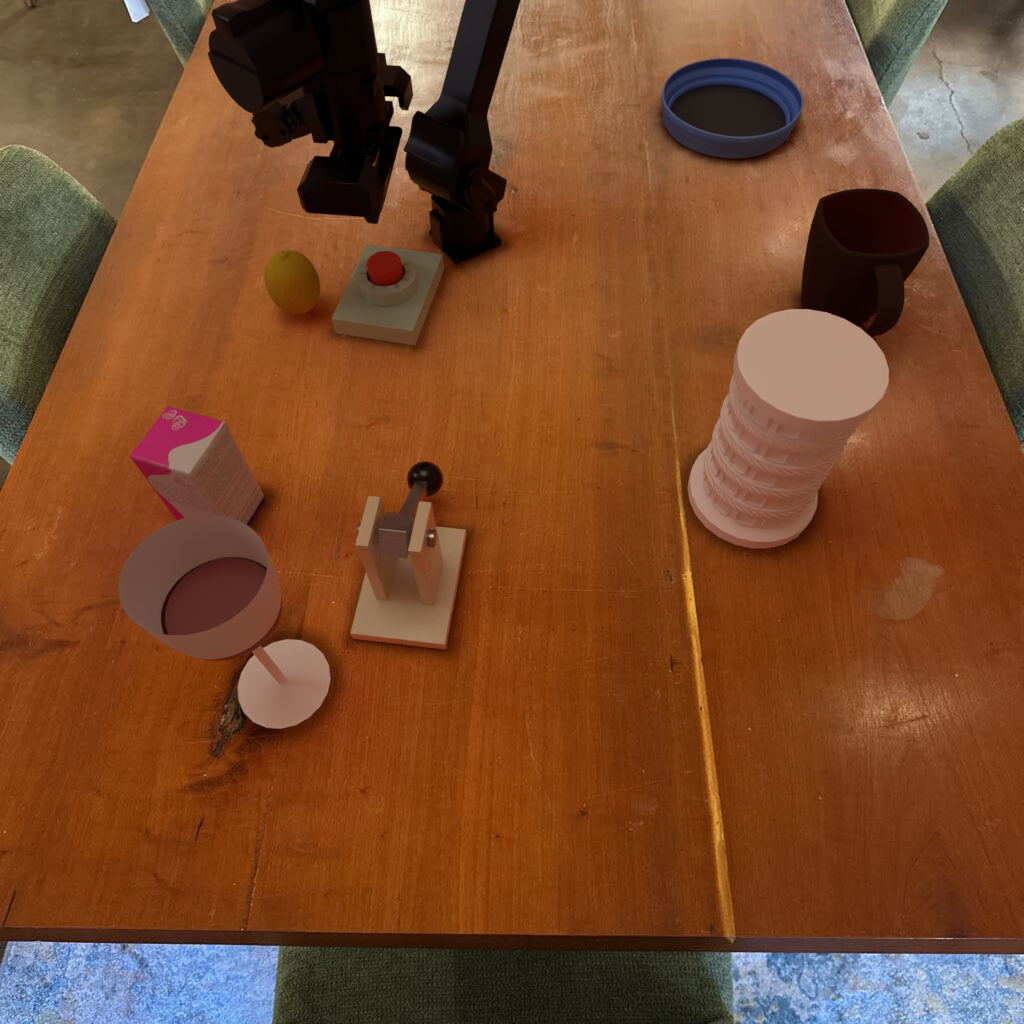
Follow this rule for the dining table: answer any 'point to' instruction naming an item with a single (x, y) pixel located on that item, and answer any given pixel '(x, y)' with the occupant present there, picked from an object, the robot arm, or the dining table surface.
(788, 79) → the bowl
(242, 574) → the wineglass
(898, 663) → the dining table surface
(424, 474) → the lever
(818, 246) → the cup
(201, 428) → the supplement box
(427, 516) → the bracket
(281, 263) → the lemon
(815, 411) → the decorative container
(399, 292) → the button block
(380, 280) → the button
